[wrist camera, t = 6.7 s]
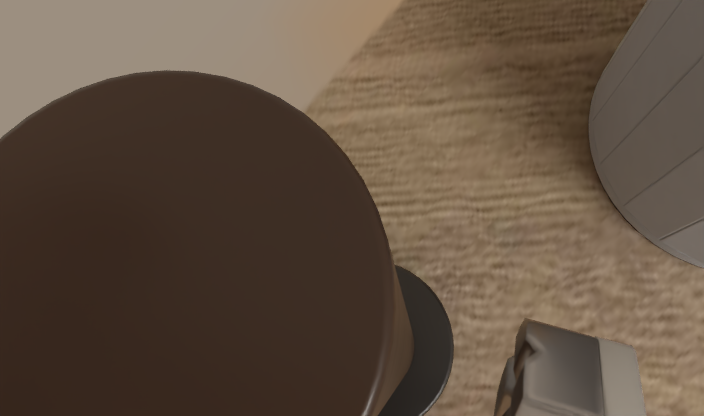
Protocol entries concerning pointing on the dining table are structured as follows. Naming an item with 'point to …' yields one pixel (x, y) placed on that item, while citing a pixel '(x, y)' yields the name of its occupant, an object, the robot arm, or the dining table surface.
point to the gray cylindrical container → (656, 127)
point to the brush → (201, 263)
